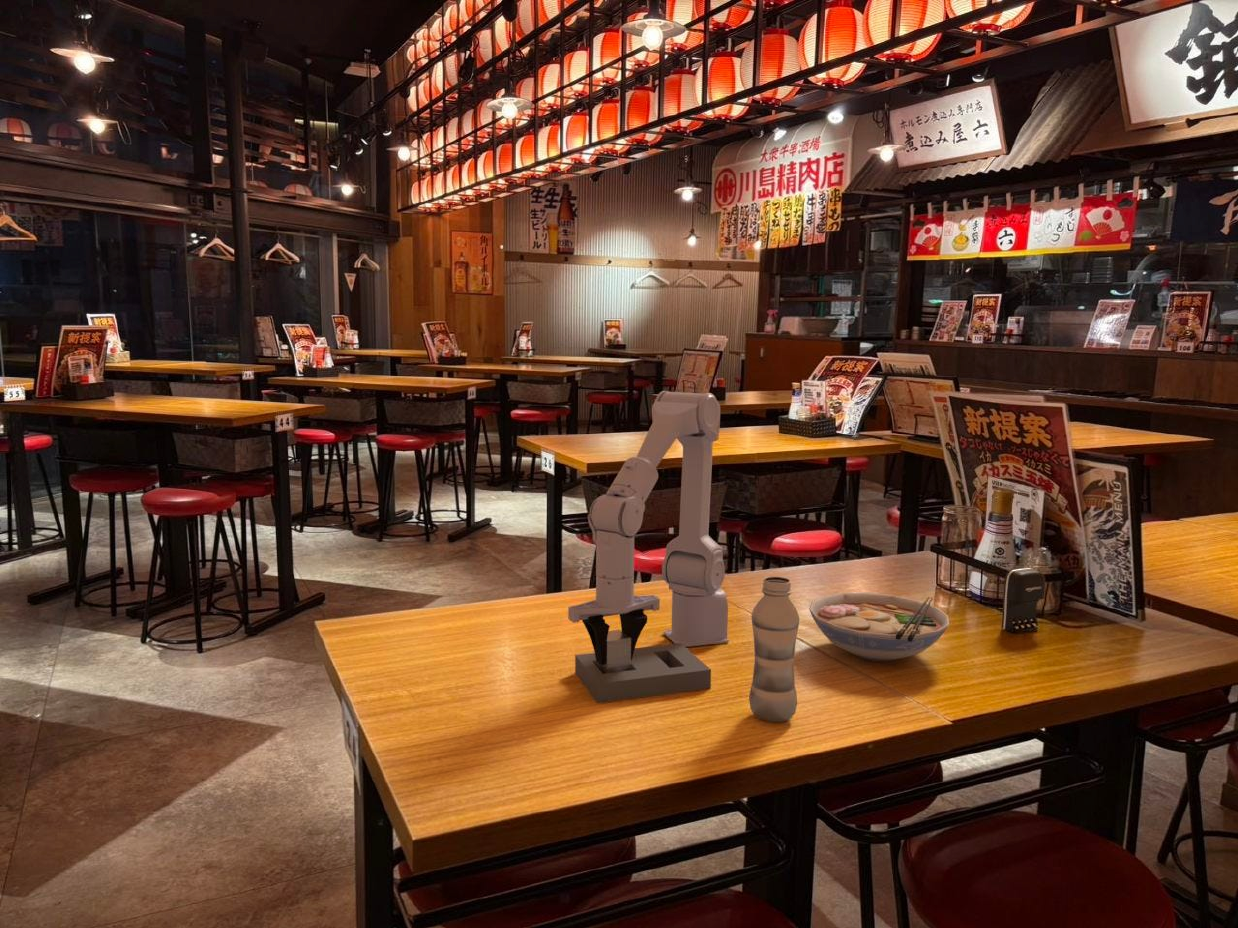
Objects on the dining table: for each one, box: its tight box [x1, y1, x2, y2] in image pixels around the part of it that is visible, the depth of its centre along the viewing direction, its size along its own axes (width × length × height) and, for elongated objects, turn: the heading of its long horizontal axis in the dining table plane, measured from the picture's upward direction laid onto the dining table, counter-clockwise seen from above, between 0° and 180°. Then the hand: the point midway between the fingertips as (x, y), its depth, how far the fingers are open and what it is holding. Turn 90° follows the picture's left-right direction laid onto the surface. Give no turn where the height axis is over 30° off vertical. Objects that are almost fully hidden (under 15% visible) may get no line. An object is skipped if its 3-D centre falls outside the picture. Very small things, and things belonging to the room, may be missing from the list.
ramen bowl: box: [808, 592, 950, 662], centre depth 147 cm, size 25×23×8 cm
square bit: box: [596, 629, 631, 674], centre depth 133 cm, size 4×4×6 cm
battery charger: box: [1001, 567, 1046, 634], centre depth 159 cm, size 7×4×11 cm, turn 111°
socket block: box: [574, 643, 712, 704], centre depth 135 cm, size 18×12×3 cm, turn 109°
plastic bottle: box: [748, 576, 800, 723], centre depth 121 cm, size 6×7×20 cm
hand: (614, 660), depth 133 cm, fingers closed on square bit, 4 cm apart
